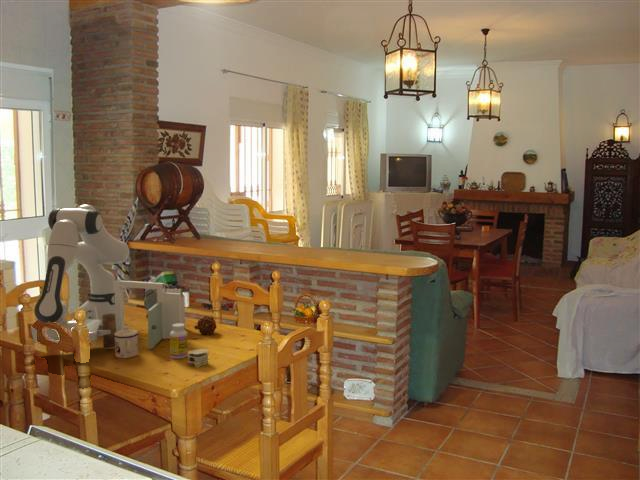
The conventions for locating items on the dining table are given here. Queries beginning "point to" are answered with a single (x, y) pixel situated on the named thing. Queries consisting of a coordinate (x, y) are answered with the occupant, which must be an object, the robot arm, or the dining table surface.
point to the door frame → (168, 300)
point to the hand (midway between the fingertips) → (111, 329)
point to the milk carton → (181, 302)
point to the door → (155, 324)
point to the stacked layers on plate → (198, 357)
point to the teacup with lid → (126, 343)
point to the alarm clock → (150, 299)
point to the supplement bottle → (178, 341)
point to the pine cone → (206, 325)
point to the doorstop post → (109, 323)
